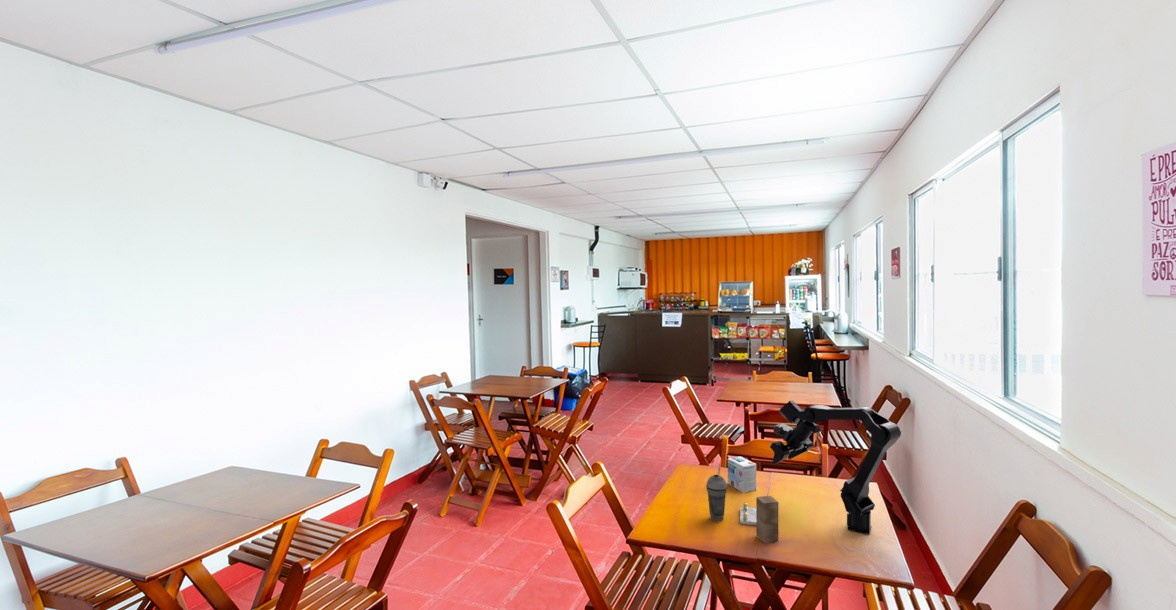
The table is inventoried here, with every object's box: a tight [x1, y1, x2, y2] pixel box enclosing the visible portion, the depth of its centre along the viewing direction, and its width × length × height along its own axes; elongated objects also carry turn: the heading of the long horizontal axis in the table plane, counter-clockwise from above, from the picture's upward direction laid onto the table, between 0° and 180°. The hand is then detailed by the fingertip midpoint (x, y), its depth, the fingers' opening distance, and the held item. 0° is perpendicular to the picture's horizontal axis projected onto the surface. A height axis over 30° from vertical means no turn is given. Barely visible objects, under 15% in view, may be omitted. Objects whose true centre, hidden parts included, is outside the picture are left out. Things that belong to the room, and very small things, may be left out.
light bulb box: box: [727, 456, 757, 493], centre depth 216 cm, size 11×7×11 cm, turn 21°
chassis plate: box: [739, 502, 757, 526], centre depth 188 cm, size 12×12×3 cm
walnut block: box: [755, 495, 779, 544], centre depth 173 cm, size 5×5×13 cm
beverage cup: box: [706, 463, 728, 522], centre depth 188 cm, size 7×7×20 cm
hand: (781, 460), depth 203 cm, fingers open, 9 cm apart
